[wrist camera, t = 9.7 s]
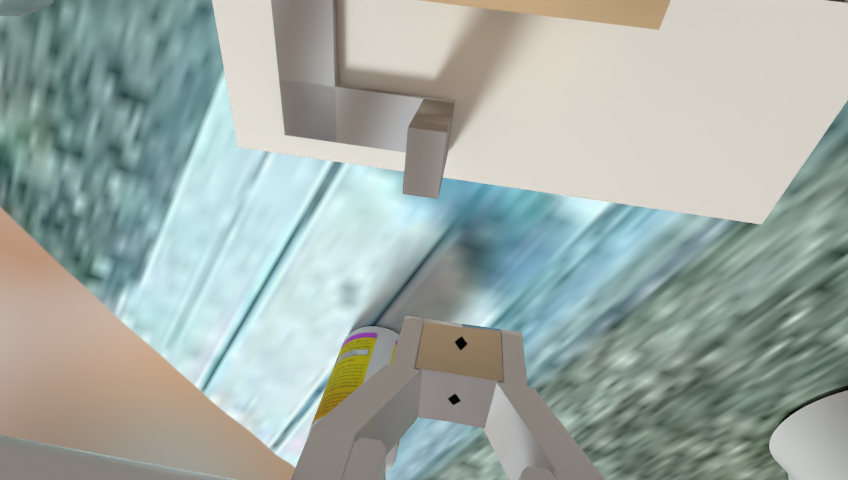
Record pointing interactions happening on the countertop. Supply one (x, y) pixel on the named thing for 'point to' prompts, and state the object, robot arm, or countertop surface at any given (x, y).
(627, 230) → the countertop surface
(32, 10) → the plastic bottle
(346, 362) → the supplement bottle
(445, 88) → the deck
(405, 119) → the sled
